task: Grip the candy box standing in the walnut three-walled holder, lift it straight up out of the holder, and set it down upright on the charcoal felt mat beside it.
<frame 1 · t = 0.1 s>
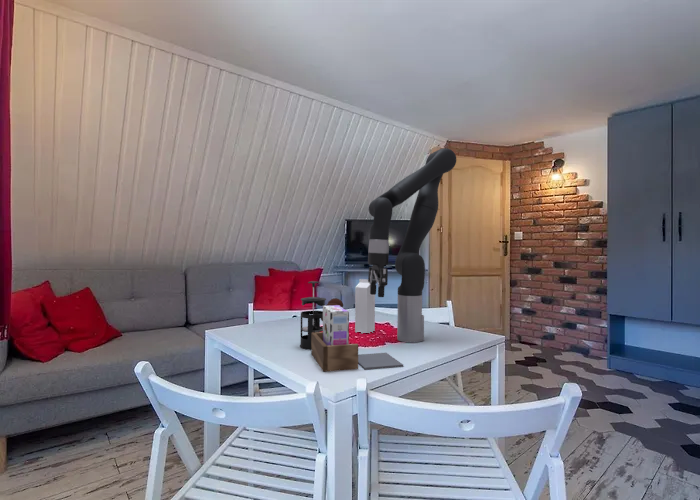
hand: (376, 295, 147), 17 cm above the table, tool pointing down, fingers open, 8 cm apart
mat: (376, 361, 121), on the table
candy box: (335, 361, 122), resting in holder
ice cream bowl: (332, 337, 156), on the table
french press: (313, 346, 140), on the table
holder: (335, 360, 122), on the table
milk: (364, 332, 165), on the table
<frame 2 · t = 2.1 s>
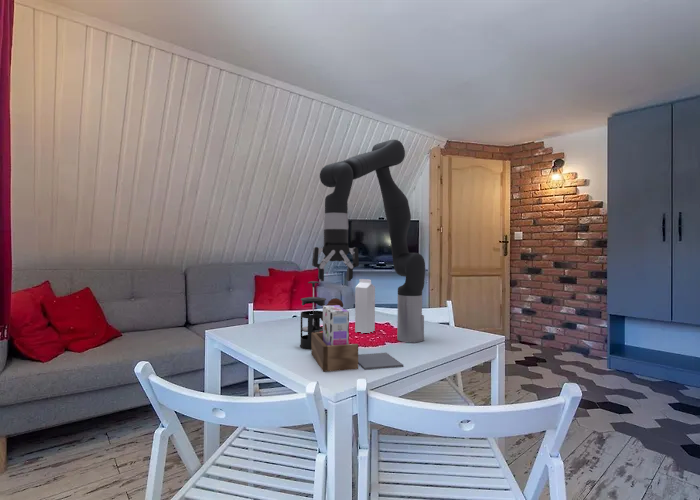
hand: (335, 281, 122), 25 cm above the table, tool pointing down, fingers open, 8 cm apart
nothing on the table moved.
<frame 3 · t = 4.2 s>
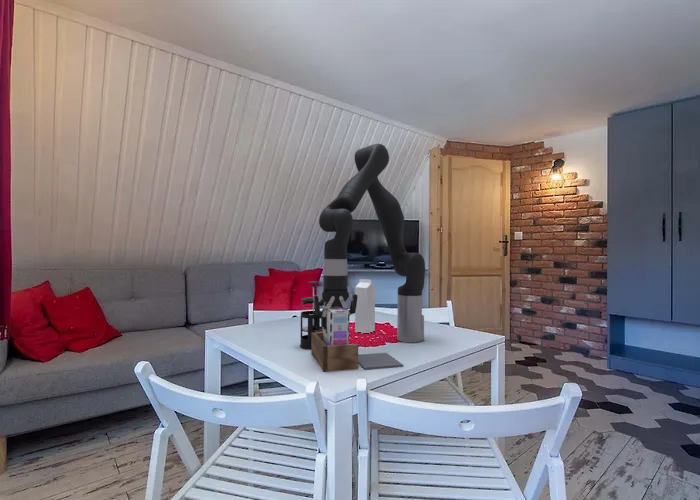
hand: (335, 328, 122), 10 cm above the table, tool pointing down, fingers closed on candy box, 6 cm apart
candy box: (335, 361, 122), resting in holder, touching gripper
everything else where it was.
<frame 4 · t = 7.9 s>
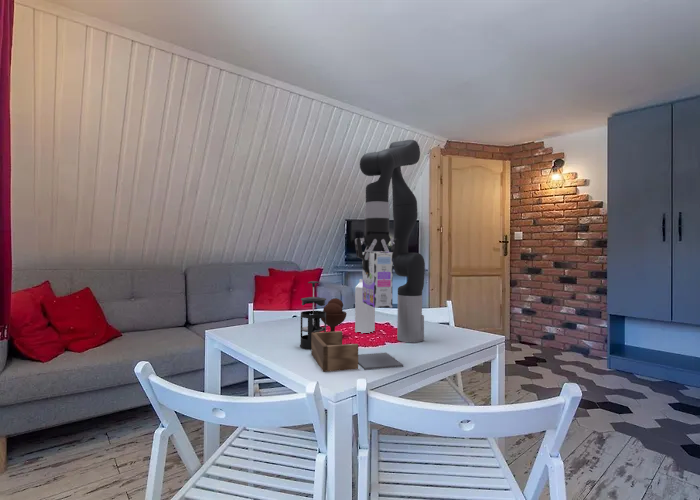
hand: (376, 272, 121), 28 cm above the table, tool pointing down, fingers closed on candy box, 6 cm apart
candy box: (376, 305, 121), point 17 cm above the table, touching gripper
everything else where it was.
when the fingers open (12 cm above the table, at t = 11.6 s): candy box stays where it is, resting on mat.
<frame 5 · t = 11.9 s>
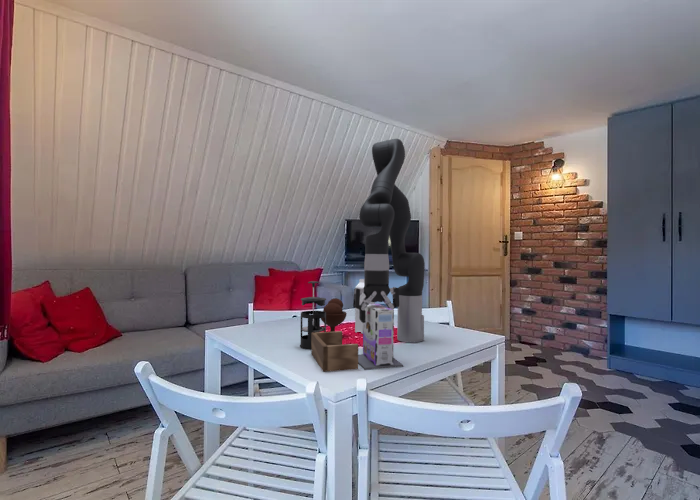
hand: (376, 321, 121), 12 cm above the table, tool pointing down, fingers open, 8 cm apart
candy box: (377, 360, 122), resting on mat
everything else where it was.
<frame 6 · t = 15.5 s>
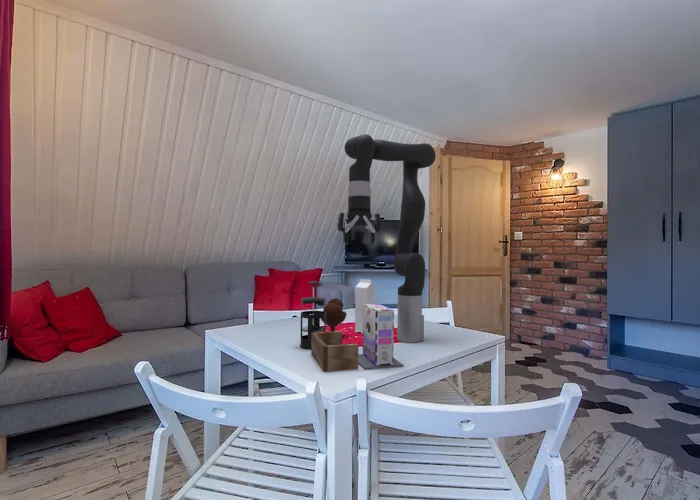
hand: (359, 244, 132), 36 cm above the table, tool pointing down, fingers open, 8 cm apart
nothing on the table moved.
at the end: candy box 0.4 cm from the mat (horizontally); candy box tilted 0°; candy box resting on mat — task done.
